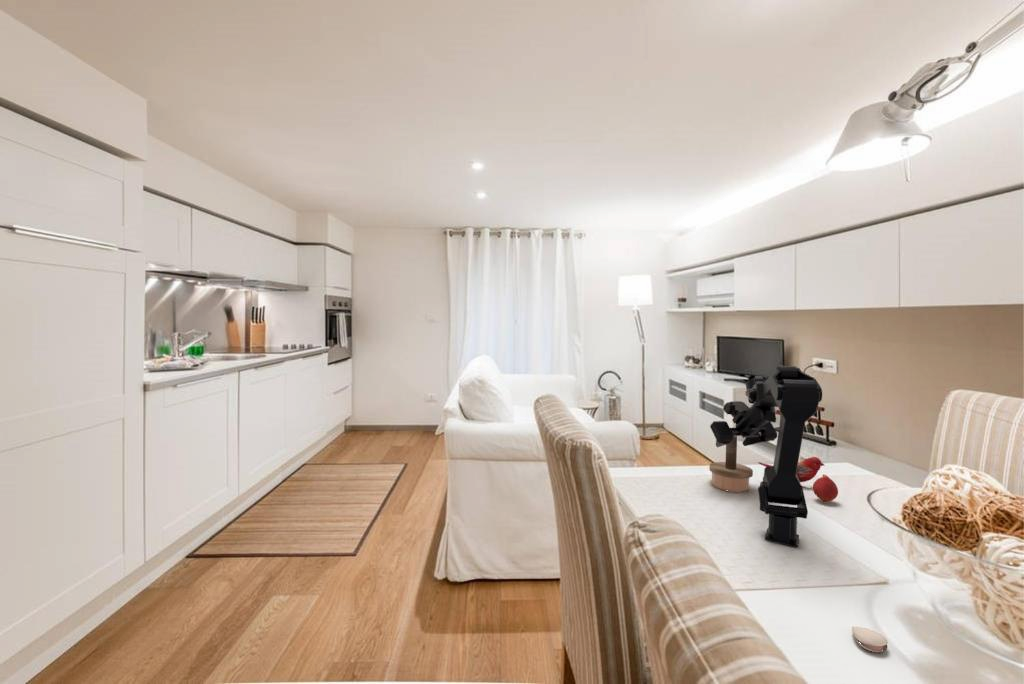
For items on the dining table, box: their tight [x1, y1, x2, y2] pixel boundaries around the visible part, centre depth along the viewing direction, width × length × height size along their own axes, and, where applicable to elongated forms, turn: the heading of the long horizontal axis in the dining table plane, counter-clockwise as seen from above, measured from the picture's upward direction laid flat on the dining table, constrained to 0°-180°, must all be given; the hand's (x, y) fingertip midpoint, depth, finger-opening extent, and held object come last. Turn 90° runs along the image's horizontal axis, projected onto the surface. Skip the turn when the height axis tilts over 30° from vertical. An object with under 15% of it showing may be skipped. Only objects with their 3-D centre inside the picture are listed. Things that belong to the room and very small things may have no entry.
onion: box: [812, 473, 839, 503], centre depth 127 cm, size 6×6×8 cm
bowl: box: [711, 472, 750, 493], centre depth 139 cm, size 10×10×4 cm
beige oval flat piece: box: [851, 625, 889, 653], centre depth 71 cm, size 4×5×2 cm
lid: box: [708, 436, 754, 479], centre depth 138 cm, size 12×12×11 cm
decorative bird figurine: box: [757, 456, 825, 488], centre depth 139 cm, size 3×18×10 cm, turn 64°
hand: (730, 445), depth 139 cm, fingers open, 9 cm apart
